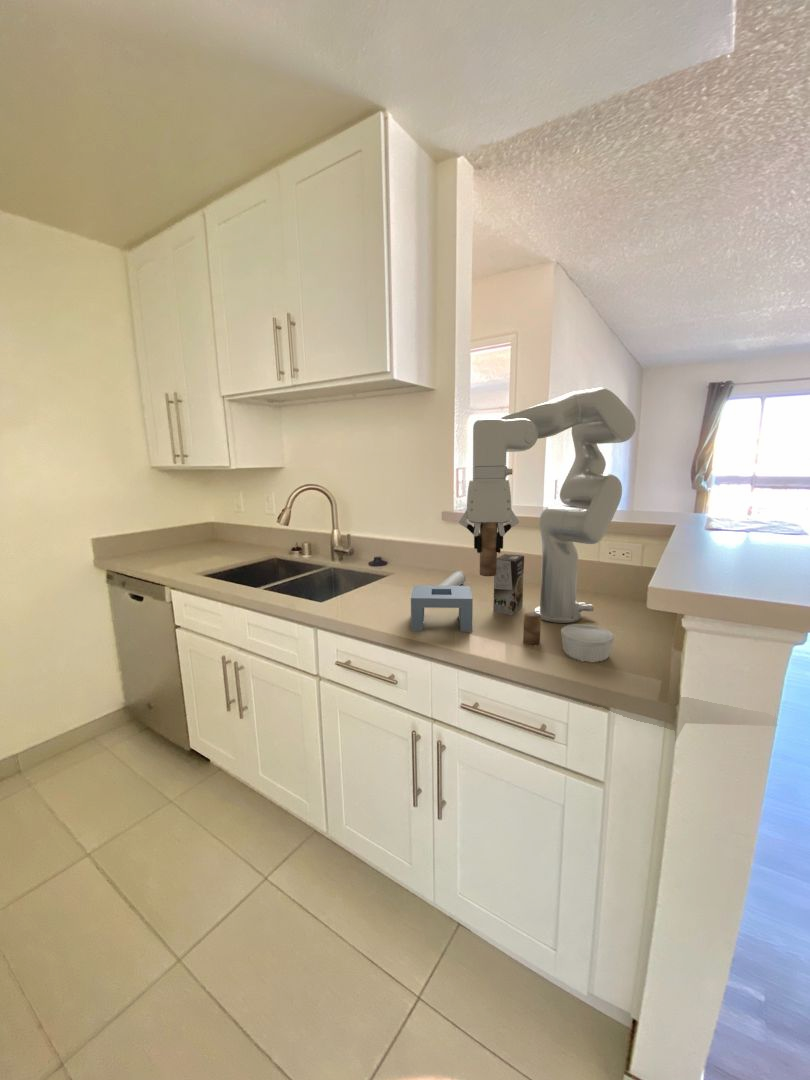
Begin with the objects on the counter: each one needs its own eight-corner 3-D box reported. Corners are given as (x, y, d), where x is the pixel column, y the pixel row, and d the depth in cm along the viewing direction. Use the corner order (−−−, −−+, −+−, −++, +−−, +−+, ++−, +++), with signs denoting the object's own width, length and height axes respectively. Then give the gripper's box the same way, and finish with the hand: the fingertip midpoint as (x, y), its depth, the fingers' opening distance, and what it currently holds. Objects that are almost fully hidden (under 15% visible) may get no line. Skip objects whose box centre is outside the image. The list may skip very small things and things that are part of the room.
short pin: (538, 639, 108) (539, 612, 107) (541, 645, 104) (542, 618, 103) (521, 638, 108) (522, 612, 107) (524, 645, 104) (525, 617, 103)
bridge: (469, 615, 125) (469, 585, 124) (472, 631, 113) (472, 598, 112) (414, 615, 126) (413, 585, 125) (411, 630, 115) (410, 598, 113)
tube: (445, 593, 134) (468, 573, 156) (430, 586, 136) (454, 568, 158) (440, 608, 136) (463, 586, 158) (425, 601, 137) (450, 581, 160)
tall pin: (495, 572, 106) (496, 515, 104) (497, 576, 102) (498, 517, 100) (478, 572, 106) (479, 515, 104) (480, 576, 103) (480, 517, 100)
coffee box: (513, 615, 125) (515, 561, 122) (492, 612, 128) (493, 558, 125) (523, 606, 132) (525, 555, 129) (503, 603, 135) (504, 553, 133)
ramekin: (601, 644, 105) (602, 623, 104) (621, 665, 94) (622, 642, 93) (554, 643, 105) (555, 623, 104) (568, 664, 94) (569, 642, 93)
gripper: (523, 473, 103) (521, 548, 106) (452, 474, 104) (452, 548, 108) (529, 474, 96) (527, 555, 99) (453, 475, 97) (453, 555, 100)
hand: (488, 550), depth 103 cm, fingers closed on tall pin, 4 cm apart
